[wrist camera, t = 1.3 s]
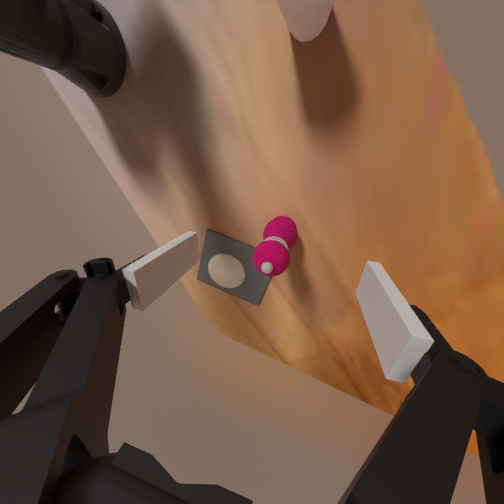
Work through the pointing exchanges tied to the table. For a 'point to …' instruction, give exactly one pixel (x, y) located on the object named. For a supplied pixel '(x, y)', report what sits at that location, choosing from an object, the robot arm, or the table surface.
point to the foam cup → (305, 17)
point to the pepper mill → (275, 246)
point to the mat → (231, 268)
